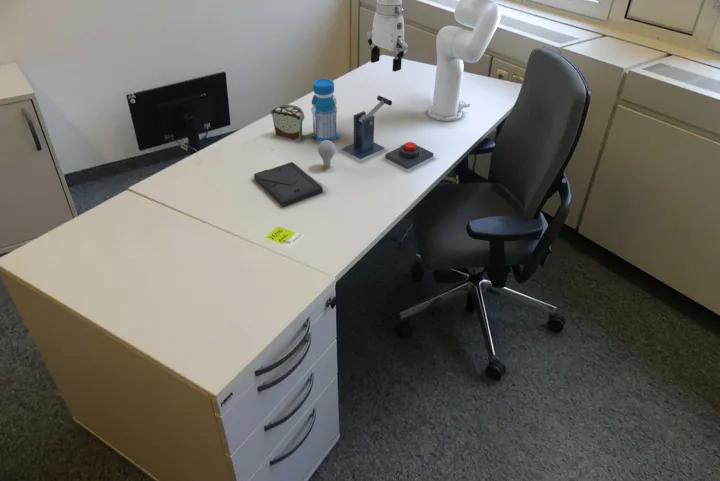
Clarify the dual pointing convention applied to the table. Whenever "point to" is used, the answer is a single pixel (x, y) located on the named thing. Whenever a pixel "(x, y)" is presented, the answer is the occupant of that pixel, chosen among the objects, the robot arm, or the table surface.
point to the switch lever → (375, 108)
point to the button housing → (409, 156)
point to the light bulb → (326, 152)
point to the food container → (287, 121)
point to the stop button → (410, 147)
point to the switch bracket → (363, 138)
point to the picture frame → (288, 184)
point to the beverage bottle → (324, 110)
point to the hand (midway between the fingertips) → (385, 66)
